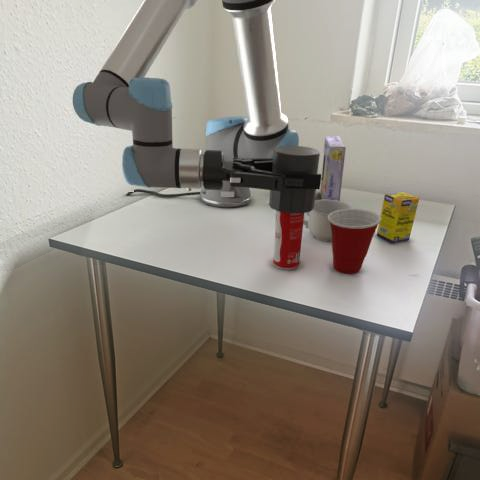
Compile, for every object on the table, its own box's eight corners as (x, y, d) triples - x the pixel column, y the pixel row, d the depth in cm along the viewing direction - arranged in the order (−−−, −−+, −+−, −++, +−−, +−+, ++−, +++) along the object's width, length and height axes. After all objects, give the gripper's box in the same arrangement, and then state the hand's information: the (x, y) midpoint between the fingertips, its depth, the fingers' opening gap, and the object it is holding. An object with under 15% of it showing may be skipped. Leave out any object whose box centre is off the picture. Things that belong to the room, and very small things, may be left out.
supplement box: (392, 244, 116) (401, 200, 111) (375, 235, 121) (384, 193, 115) (410, 240, 119) (420, 197, 113) (393, 232, 123) (402, 191, 118)
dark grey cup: (263, 209, 94) (267, 151, 88) (277, 197, 101) (281, 143, 96) (306, 216, 91) (313, 157, 86) (317, 203, 99) (324, 148, 93)
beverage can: (299, 260, 106) (306, 193, 98) (299, 272, 100) (307, 203, 92) (272, 258, 106) (277, 191, 98) (271, 270, 101) (276, 201, 93)
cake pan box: (318, 191, 154) (325, 133, 145) (333, 192, 154) (341, 134, 144) (321, 209, 137) (330, 146, 128) (339, 210, 137) (348, 147, 128)
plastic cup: (315, 258, 107) (322, 206, 101) (362, 258, 108) (371, 207, 102) (327, 279, 98) (335, 224, 92) (377, 279, 99) (389, 224, 93)
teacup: (351, 233, 122) (356, 202, 118) (345, 248, 113) (350, 215, 109) (298, 225, 125) (302, 195, 121) (288, 239, 117) (292, 207, 112)
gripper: (207, 175, 104) (309, 179, 104) (197, 205, 86) (321, 211, 86) (208, 139, 100) (313, 144, 100) (197, 163, 82) (327, 169, 82)
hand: (317, 175), depth 93 cm, fingers closed on dark grey cup, 9 cm apart
